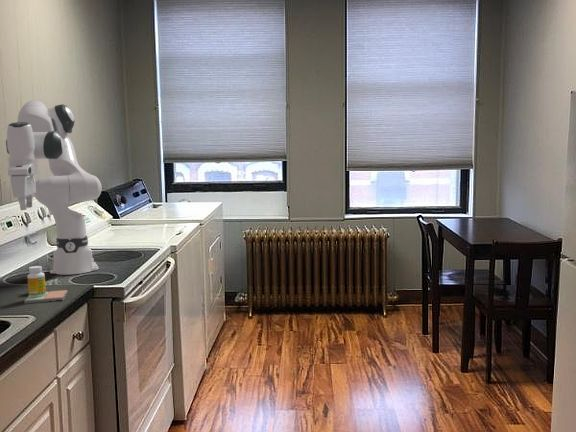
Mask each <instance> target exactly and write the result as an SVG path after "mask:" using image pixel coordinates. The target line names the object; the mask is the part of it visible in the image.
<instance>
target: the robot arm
mask: <svg viewBox="0 0 576 432" xmlns="http://www.w3.org/2000/svg"><path fill="white" fill-rule="evenodd" d="M74 126H75V116H74V114H73V112H72V110H71V109H70V108H69V107H68V106H67V105H65V104H57V105H55V106H53V107H49V108H47V106H46V104H45V103H43V102H42V101H40V100H36V99H32V100H29V101H27V102H25V103H24V104H23V105H22V107H21V108H20V110H19V112H18V115H17V122H11V123H8V125H7V129H6V140H5V145H6V153H7V154H8V156H9V157H8V169H7V175H8V176H10V177H9V178H10V185H11V191H12V196H13V198H15V199H18V204H19V208H20V209H19V210H20V211H26V210H27V209H28V208H33V200H34V199H33V197H34V198H35V199H36V200H37V202H39V203H40V204H42V205H44V207H46V208H47V209H48V210H49V211H50V212H51V214H52V216H53V219H54V223H55V228H56V236H57V237H56V240H55V244H56V247H57V248H56V250H54V252H53V268H52V269H51V270H49V274H54V275H55V274H56V275H63V276H64V275H65V276H67V275H78V274H79V275H80V274H85V273H89V272H93V271H99V270H98V269H99V266H98V263H96V261H95V258H94V257H93V250H92V249H91V248H90V247H89V238H88V236H87V229H86V219H85V216H84V215H83V214H82V213H80V212H78V211H76V210H72V209H70V208H69V206H68V204H71V203H84V202H90V201H94V200H97V199H99V197H100V195H102V192H103V191H102V190H103V187H102V183H101V181H100V179H99V178H98V177H97V176H96V175H94V174H91V173H89V172H87V171H86V170H85V169H83V168H82V167H81V166H80V165H79V161H78V158H77V153H76V150H75V147H74V143H73V142H72V140H71V138H70V137H69V135H68V134H72V132H73V128H74ZM41 159H43V160H45V159H46V160H48V164H49V171H50V172H51V174H52V175H49V176H45V177H41V178H38V179H37V180H36V178H35V174H38V165H37V160H41ZM33 195H34V196H33Z"/></svg>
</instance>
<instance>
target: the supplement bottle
mask: <svg viewBox="0 0 576 432" xmlns="http://www.w3.org/2000/svg"><path fill="white" fill-rule="evenodd" d="M42 271H43V268H42V266H41V265H34V266H29V267H28V272H29V273H28V274H27V277H26V278H27V287H28V288H27V289H28V296H30V297H41V296H44V295H46V292H47V288H46V276H45V272H42Z"/></svg>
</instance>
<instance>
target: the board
mask: <svg viewBox="0 0 576 432" xmlns="http://www.w3.org/2000/svg"><path fill="white" fill-rule="evenodd" d="M67 293H69V291H68V290H67V289H65V290H51V291H46V295H44V296H41V297H30V296H29V295H28V296H27V297H26V299H24V300H23V304H24V305H25V304H36V303H50V302H49V301H52V302H57V301H56V300H62V301H64V300H65V298H66V297H67V295H68V294H67ZM66 294H67V295H66ZM65 296H66V297H65Z"/></svg>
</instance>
